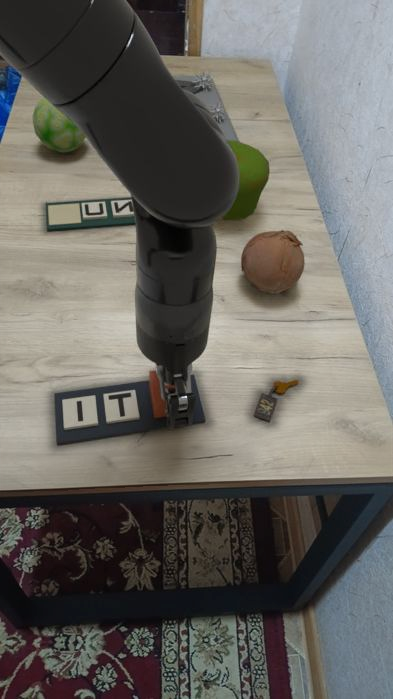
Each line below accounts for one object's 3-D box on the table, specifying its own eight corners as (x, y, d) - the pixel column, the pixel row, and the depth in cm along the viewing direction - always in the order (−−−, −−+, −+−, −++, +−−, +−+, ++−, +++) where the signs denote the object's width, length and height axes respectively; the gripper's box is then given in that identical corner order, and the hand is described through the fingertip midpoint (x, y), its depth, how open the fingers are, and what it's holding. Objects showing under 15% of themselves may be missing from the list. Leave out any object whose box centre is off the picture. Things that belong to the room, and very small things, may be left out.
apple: (190, 228, 84) (194, 169, 75) (191, 186, 91) (195, 127, 82) (262, 232, 84) (275, 174, 75) (258, 190, 92) (269, 132, 83)
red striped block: (154, 418, 60) (154, 401, 57) (149, 388, 63) (148, 370, 60) (189, 413, 61) (191, 396, 58) (182, 384, 64) (184, 366, 61)
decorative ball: (36, 162, 92) (25, 110, 84) (40, 134, 98) (31, 82, 90) (89, 163, 93) (83, 111, 85) (91, 135, 99) (85, 84, 91)
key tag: (267, 424, 61) (268, 422, 61) (247, 411, 62) (248, 409, 62) (299, 381, 66) (300, 379, 65) (279, 370, 67) (280, 367, 66)
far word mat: (47, 231, 81) (46, 225, 80) (46, 205, 85) (44, 199, 84) (155, 223, 84) (155, 217, 83) (149, 198, 88) (149, 192, 87)
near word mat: (57, 445, 58) (55, 440, 57) (54, 395, 62) (53, 390, 61) (205, 422, 61) (206, 417, 60) (193, 376, 65) (194, 371, 64)
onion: (275, 282, 81) (305, 228, 76) (292, 313, 74) (327, 256, 69) (224, 266, 78) (252, 208, 73) (237, 296, 71) (270, 234, 66)
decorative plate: (240, 154, 99) (246, 120, 93) (133, 158, 95) (132, 122, 90) (211, 84, 116) (214, 51, 111) (120, 85, 113) (118, 51, 107)
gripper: (126, 264, 52) (132, 356, 65) (146, 375, 44) (148, 455, 57) (195, 258, 53) (187, 349, 67) (227, 364, 45) (211, 445, 58)
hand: (169, 398), depth 62 cm, fingers open, 7 cm apart
